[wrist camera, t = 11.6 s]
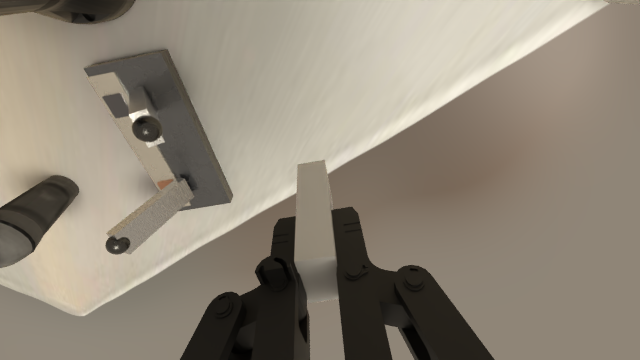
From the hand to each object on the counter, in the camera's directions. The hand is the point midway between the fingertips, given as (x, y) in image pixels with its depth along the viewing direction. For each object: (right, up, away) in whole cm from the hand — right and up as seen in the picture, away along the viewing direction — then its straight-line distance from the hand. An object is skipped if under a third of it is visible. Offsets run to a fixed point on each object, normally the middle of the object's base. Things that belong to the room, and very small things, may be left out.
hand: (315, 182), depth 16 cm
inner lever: (-23, +11, +21) cm, 33 cm away
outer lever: (-21, -1, +29) cm, 36 cm away
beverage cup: (-42, -1, +31) cm, 52 cm away
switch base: (-22, +6, +27) cm, 35 cm away
